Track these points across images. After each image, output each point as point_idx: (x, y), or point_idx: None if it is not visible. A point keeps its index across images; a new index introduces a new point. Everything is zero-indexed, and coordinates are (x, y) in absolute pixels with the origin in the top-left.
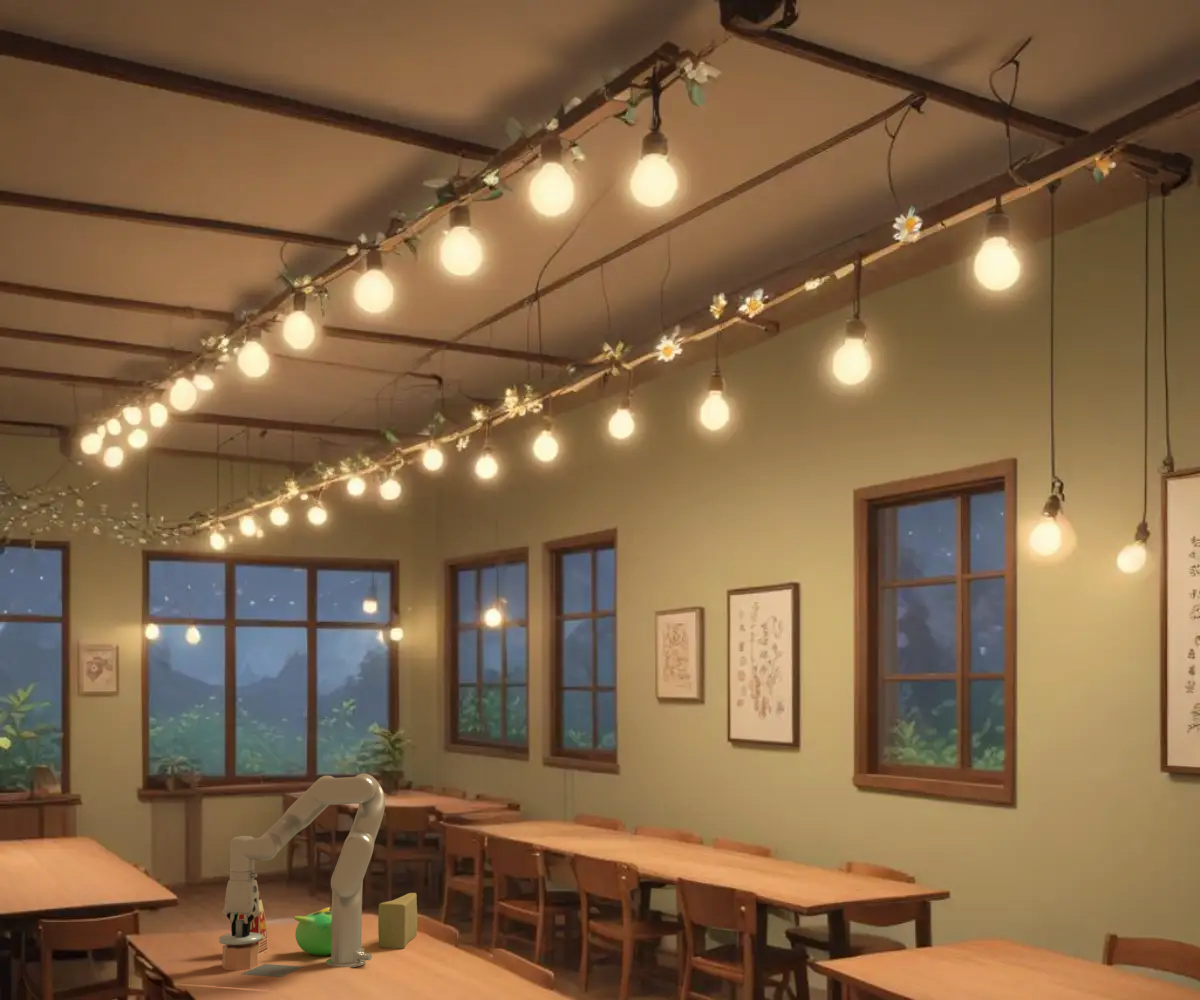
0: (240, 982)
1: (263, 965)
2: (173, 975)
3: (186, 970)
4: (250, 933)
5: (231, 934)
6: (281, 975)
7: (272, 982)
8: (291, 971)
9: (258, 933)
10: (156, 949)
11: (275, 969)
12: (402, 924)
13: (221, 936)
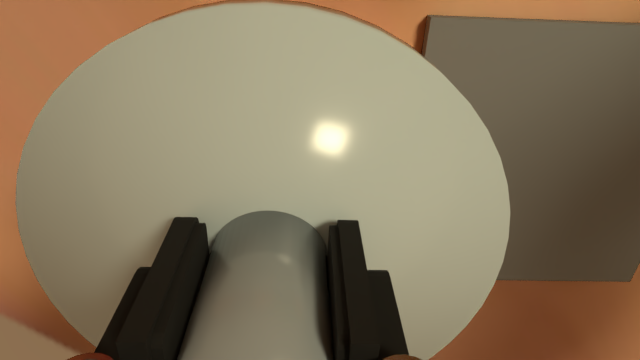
0: (442, 354)
1: (441, 69)
2: (44, 327)
3: (9, 237)
4: (295, 89)
5: (88, 198)
6: (629, 259)
7: (594, 327)
8: None
9: (412, 63)
10: None
11: (562, 152)
12: None
13: (65, 300)
